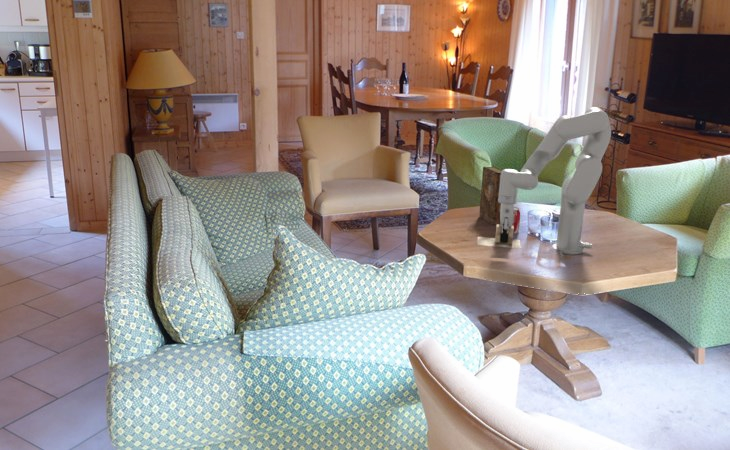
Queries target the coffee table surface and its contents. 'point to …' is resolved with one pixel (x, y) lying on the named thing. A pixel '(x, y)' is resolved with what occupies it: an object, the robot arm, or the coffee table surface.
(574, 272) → the coffee table surface
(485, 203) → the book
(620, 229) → the coffee table surface
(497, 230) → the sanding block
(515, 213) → the soda can
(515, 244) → the board
